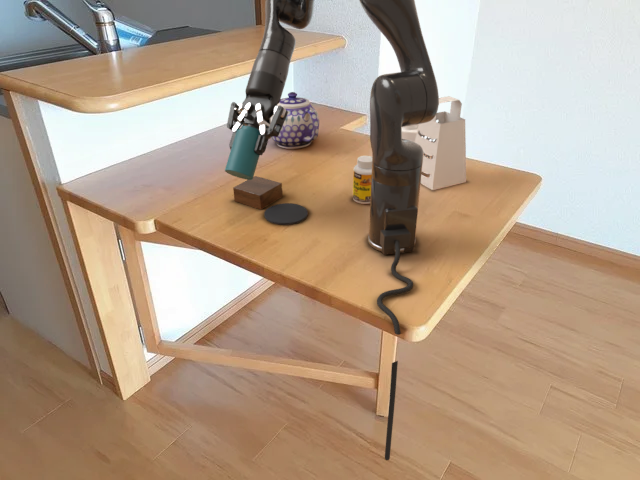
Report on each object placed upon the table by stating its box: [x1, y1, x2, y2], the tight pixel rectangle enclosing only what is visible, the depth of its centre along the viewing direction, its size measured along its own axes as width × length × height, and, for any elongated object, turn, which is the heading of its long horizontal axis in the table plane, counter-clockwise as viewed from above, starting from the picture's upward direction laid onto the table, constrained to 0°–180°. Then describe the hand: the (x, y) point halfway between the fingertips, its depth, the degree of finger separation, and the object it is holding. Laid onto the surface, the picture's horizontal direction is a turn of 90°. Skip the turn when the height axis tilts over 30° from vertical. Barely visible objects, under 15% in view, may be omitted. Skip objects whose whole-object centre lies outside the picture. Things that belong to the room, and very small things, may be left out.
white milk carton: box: [402, 124, 419, 142], centre depth 147 cm, size 7×7×12 cm
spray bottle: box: [224, 113, 261, 181], centre depth 110 cm, size 12×6×13 cm, turn 148°
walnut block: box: [232, 175, 283, 210], centre depth 122 cm, size 8×8×4 cm
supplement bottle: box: [352, 155, 372, 205], centre depth 120 cm, size 6×6×10 cm
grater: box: [415, 95, 467, 191], centre depth 128 cm, size 10×10×20 cm
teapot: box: [270, 91, 320, 150], centre depth 153 cm, size 25×15×15 cm, turn 31°
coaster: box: [263, 202, 309, 226], centre depth 116 cm, size 10×10×1 cm
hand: (245, 151), depth 110 cm, fingers closed on spray bottle, 6 cm apart
